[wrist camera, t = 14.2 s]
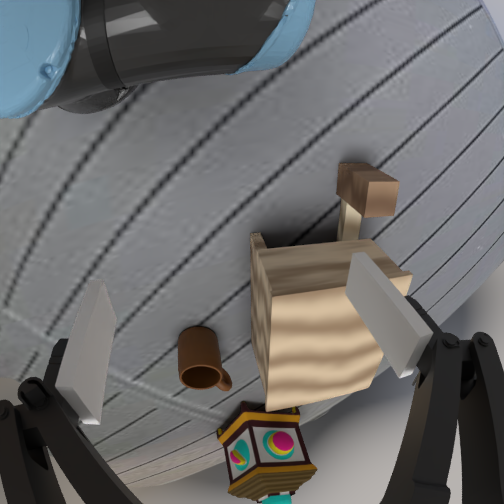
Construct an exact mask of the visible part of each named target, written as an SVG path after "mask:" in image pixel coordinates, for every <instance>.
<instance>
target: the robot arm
mask: <svg viewBox="0 0 504 504" xmlns="http://www.w3.org/2000/svg"><path fill="white" fill-rule="evenodd" d="M315 2H316V0H0V119H1V118H11V119H12V118H21V117H25V116H27V115H29V114H31V113H33V112H34V111H38V110H42V109H47V108H51V107H56V106H58V107H60V108H61V109H63V110H66V111H69V112H72V113H79V114H88V113H94V112H99V111H102V110H105V109H108V108H110V107H113V106H115V105H116V104H118V103H120V102H121V101H123V100H124V99H125V98H126V97H128V96H129V95H130V94H131V93H132V92H133V91H134V90H135V88H136V87H137V86H138V85H139V84H144V83H150V82H156V81H163V80H170V79H177V78H186V77H195V76H205V75H217V74H225V75H233V74H239V73H242V72H245V71H257V70H269V69H272V68H276V67H278V66H280V65H282V64H283V63H284V62H286V61H287V60H288V59H289V58H291V56H292V55H293V54H294V53H295V52H296V50H297V49H298V48H299V46H300V44H301V43H302V41H303V39H304V37H305V35H306V33H307V30H308V28H309V25H310V22H311V19H312V16H313V12H314V7H315ZM345 294H346V296H347V297H348V299H349V300H350V302H351V303H352V305H353V306H354V308H355V309H356V311H357V312H358V314H359V316H360V317H361V319H362V320H363V322H364V323H365V325H366V326H367V328H368V329H369V331H370V333H371V334H372V336H373V337H374V339H375V340H376V342H377V344H378V345H379V347H380V348H381V350H382V352H383V353H384V355H385V356H386V358H387V360H388V361H389V363H390V364H391V366H392V368H393V369H394V371H395V372H396V374H397V376H398V377H399V378H402V377H405V376H407V375H410V374H412V373H413V371H414V369H415V367H416V366H417V367H418V368H419V370H420V371H419V373H418V375H417V377H416V378H415V380H414V382H413V384H412V385H413V386H414V384H415V383H416V386H415V391H414V396H413V401H412V405H411V409H410V414H409V418H408V422H407V426H406V430H405V434H404V437H403V441H402V444H401V448H400V451H399V454H398V457H397V461H396V464H395V467H394V470H393V473H392V476H391V479H390V481H389V484H388V487H387V490H386V493H385V495H384V497H383V499H382V501H381V502H380V504H448V503H449V499H450V494H451V492H450V489H449V488H448V487H447V485H446V483H447V478H448V473H449V469H450V464H451V459H452V454H453V448H454V441H455V435H456V428H457V420H458V424H459V434H460V446H461V461H462V504H504V371H503V368H502V364H501V362H500V359H499V355H498V352H497V350H496V347H495V344H494V341H493V339H492V338H491V337H490V336H489V335H488V334H486V333H484V332H477V333H475V334H474V335H473V337H472V339H471V340H459V338H458V337H456V336H455V335H453V334H451V333H443V332H442V331H441V329H440V328H439V327H438V326H437V324H436V323H435V322H434V321H433V319H432V318H431V317H430V316H429V315H428V314H427V312H426V311H425V310H424V309H422V306H421V305H420V304H419V303H418V302H417V301H416V300H415V299H413V298H412V297H410V296H409V295H408V296H403V295H402V294H401V293H400V291H399V290H398V289H397V288H396V287H395V286H394V284H393V283H392V282H391V281H390V280H389V279H388V278H387V276H386V275H385V274H384V273H383V272H382V271H381V270H380V268H379V267H378V266H377V265H376V264H375V263H374V262H373V261H372V260H371V258H370V257H369V256H368V255H367V254H366V253H365V252H358V253H352V259H351V264H350V269H349V275H348V280H347V285H346V290H345ZM116 323H117V318H116V315H115V313H114V310H113V307H112V304H111V301H110V298H109V295H108V292H107V289H106V286H105V283H104V280H103V279H101V280H90V282H89V284H88V287H87V290H86V292H85V295H84V297H83V300H82V303H81V305H80V308H79V311H78V314H77V316H76V319H75V322H74V325H73V328H72V331H71V334H70V337H69V339H60V340H59V341H58V342H57V343H56V345H55V346H54V348H53V351H52V354H51V358H50V360H49V365H48V366H47V369H46V372H45V376H44V379H43V381H42V380H41V379H40V378H37V377H30V378H28V379H26V380H25V381H23V382H22V383H21V385H20V386H19V389H18V398H19V400H20V401H21V402H22V403H23V404H21V405H17V406H13V405H12V403H11V402H10V401H8V400H1V401H0V475H1V479H2V484H3V488H4V492H5V496H6V499H7V503H8V504H66V502H65V499H64V497H63V494H62V492H61V489H60V487H59V484H58V481H57V478H56V475H55V473H54V470H53V466H52V464H51V460H50V457H49V454H48V450H47V447H46V446H48V448H49V450H50V451H51V453H52V455H53V456H54V458H55V460H56V461H57V463H58V464H59V466H60V468H61V469H62V471H63V472H64V474H65V476H66V477H67V478H68V480H69V482H70V483H71V484H72V486H73V487H74V489H75V490H76V492H77V493H78V494H79V496H80V497H81V499H82V500H83V501H84V503H85V504H142V503H141V502H140V501H139V499H138V498H137V497H136V496H135V495H134V494H133V493H132V492H131V491H130V490H129V489H128V488H127V486H126V485H125V484H124V483H123V482H122V481H121V480H120V479H119V477H118V476H117V475H116V474H115V473H114V471H113V470H112V469H111V468H110V467H109V465H108V464H107V463H106V462H105V460H104V459H103V458H102V457H101V455H100V454H99V453H98V452H97V450H96V449H95V448H94V446H93V445H92V444H91V442H90V441H89V439H88V438H87V437H86V435H85V434H84V432H83V431H82V430H81V428H80V427H79V426H78V420H79V418H80V419H81V420H82V421H83V423H84V424H100V422H101V413H102V405H103V397H104V390H105V383H106V377H107V371H108V365H109V359H110V353H111V348H112V343H113V337H114V332H115V328H116Z"/></svg>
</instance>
